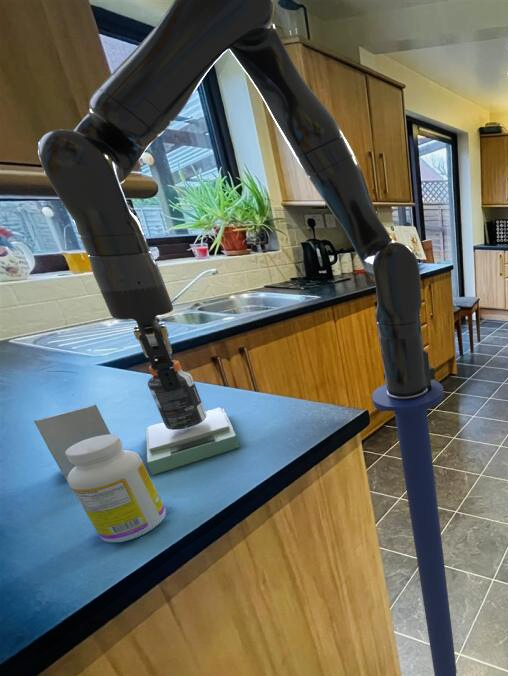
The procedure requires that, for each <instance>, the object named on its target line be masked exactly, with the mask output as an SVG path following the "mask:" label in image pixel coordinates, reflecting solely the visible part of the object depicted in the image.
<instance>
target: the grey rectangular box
mask: <svg viewBox="0 0 508 676" xmlns="http://www.w3.org/2000/svg"><path fill="white" fill-rule="evenodd" d="M33 422H34V424H35V427H36V428H37V430H38V432H39V434H40V436H41V438H42V439H43V442H44V444H45V445H46V447H47V450H49V452H50V454H51V456H52V458H53V460H54V462H55V463H56V465H57V467H58V468H59V470H60V472H61V474H62V475H63V477H64V479H65V481H66V482H68V480H67V477H68V474H69V473H70V471H71V470H72V469H73V468H74V467H75V465H74V464H72V463H71V462H69V460H68V458H67V456H66V454H65V452H66V450H67V449H68V448H69V447H71V446H73V445H74V444H76V443H78V442H81V441H83V440H86V439H89V438H92V437H96V436H101V435H112V433H111V432H110V430H109V428H108V426H107V423H106V422H105V420H104V418H103V416H102V414H101V412H100V409H99V408H98V406H97V404H94V405H89V406H86V407H85V406H84V407H82V408H77V409H75V410H70V411H65V412H63V413H59V414H54V415H50V416H47V417H44V418H40V419H36V420H33Z"/></svg>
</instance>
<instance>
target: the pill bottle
mask: <svg viewBox="0 0 508 676" xmlns="http://www.w3.org/2000/svg"><path fill="white" fill-rule="evenodd" d="M172 361H173V362H174V364H175V365H174V369H175V372H176V375H177V377H178V380H179V382H180V385H181V388H180V389H178V390H174V391H169V392H166V391H164V389H163V386H162V384H161V381H160V379H159V377H158V374H157V372H156V371H154V370H153V369H152V368H151V365H149V366H148V369H149V372H150V375H151V376H152V377H151V378H149V380H148V381H147V387H148V389H149V391H150V393H151V396H152V399H153V401H154V403H155V406H156V407H157V409H158V412H159V414H160V417H161V418H162V421H163V422H164V424H165V426H166V428H168V429H170V430H181V429H186V428H190V427H193V426H195V425H198V424H200V423H201V422H203V421H204V420H205V419H206V417H207V415H206V412H205V411H206V410H205V407H204V405H203V402H202V400H201V396H200V394H199V391H198V389H197V386H196V383H195V380H194V378H193V376H192V374H191V373H190V372H189V371H186V370H183V369H182V366H181V363H180V361H179V360H176V359H175V360H174V359H172Z"/></svg>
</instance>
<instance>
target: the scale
mask: <svg viewBox="0 0 508 676" xmlns="http://www.w3.org/2000/svg"><path fill="white" fill-rule="evenodd" d="M205 412H206V415H207V417H206V419H205V420H204V421H203V422H201V423H200V424H198V425H195V426H193V427H190V428H186V429H181V430H170V429H168V428H166V426H165V424H164V422H159V423H155V424H150V425H148V426H147V428H146V429H145V445H146V447H145V448H146V451H145V452H146V464H147V466H148V468H149V471H150V473H151V475H153V476H154V475H157V474H160V473H163V472H167V471H170V470H173V469H176V468H179V467H182V466H185V465H190V464H192V463H195V462H198V461H201V460H205V459H208V458H210V457H214V456H217V455H220V454H224V453H226V452H230V451H233V450H236V449H240V448H241V444H240V443H239V439H238V437H237V434H236V432H235V429H234V427H233V425H232V423H231V421H230V418H229V416H228V414H227V412H226V410H225V408H221V406H220V407H216V408H212V409H209V410H205Z"/></svg>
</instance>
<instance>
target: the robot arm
mask: <svg viewBox="0 0 508 676" xmlns="http://www.w3.org/2000/svg"><path fill="white" fill-rule="evenodd" d="M274 1H275V0H174V1H173V2H172V3H171V5H170V7H169V8H168V9H167V10H166V12H165V14H164V15H163V17H162V18H161V19H160V21H159V22H158V23H157V24H156V26H154V28H153V29H152V30H151V31H150V32H149V34H148V35H147V36H146V37H145V38H144V39H143V40H142V42H140V43H139V44H138V46H137V47H136V48H135V49H133V51H132V52H131V53H130V54H129V55H128V56H127V57H125V59H124V60H123V61H122V62H121V63H120V64H119V65H118V66H117V67H116V68H115V70H114V71H112V73H110V75H109V76H107V78H106V79H105V80H104V81H103V82H102V83H101V84H100V85H99V87H98V88H97V89H96V90H95V91H94V92H93V94H92V95H91V97H90V99H89V101H88V108H89V110H88V112H87V114H86V115H85V116H84V117H83V118H82V120H81V121H80V122H79V123H78V124H77V126H75V128H74V129H73V130H72V129H66V128H65V129H64V128H63V129H61V128H60V129H53V130H50V131H48V132H46V133H45V134H43V135H42V137H40V139H39V142H38V145H37V155H38V159H39V161H40V162H39V163H40V164H41V167H42V170H43V172H44V173H45V176H46V178H47V180H48V182H49V184H50V185H51V186H52V188H53V190H54V192H55V193H56V195H57V197H58V198H59V200H60V202H61V203H62V205H63V207H64V208H65V210H66V211H67V212H68V214H69V215H70V217H71V219H72V220H73V222H74V225H75V227H76V231H77V234H78V236H79V238H80V241H81V243H82V246H83V248H84V250H85V252H86V255H87V258H88V260H89V263H90V268H91V272H92V275H93V277H94V280H95V281H96V284H97V286H98V288H99V291H100V293H101V296H102V298H103V300H104V301H105V305H106V306H107V309H108V311H109V314H110V316H111V317H112V319H115V320H120V321H122V320H123V321H128V320H134V321H135V322H136V325H137V326H133V331H132V332H133V334H134V337H135V339H136V340H137V341H138V342H139V344H140V347H141V350H142V352H143V355H144V356H145V357H146V358H148V361H149V362H150V366H151V368H152V369H153V370H154V371H156V372H157V374H158V377H159V379H160V381H161V384H162V386H163V389H164V391H166V392H169V391H174V390H178V389H180V388H181V385H180V382H179V380H178V377H177V375H176V372H175V369H174V365H175V364H174V362H173V361H172V360H173V357H172V355H173V347H172V343H171V341H170V338H169V332H168V328H167V325H166V323H165V322H161V320H160V318H158V316H163V315H167V314H169V313H171V312H173V310H174V305H173V303H172V300H171V297H170V295H169V292H168V289H167V287H166V284H165V281H164V278H163V275H162V273H161V270H160V267H159V266H158V263H157V261H156V260H155V258H154V256H153V254H152V252H151V249H150V246H149V244H148V241H147V238H146V236H145V232H144V230H143V228H142V227H143V226H142V225H141V223H140V221H139V220H138V218H137V217H136V215H134V214H133V212H131V210H130V207H129V205H128V203H127V200H126V197H125V194H124V191H123V189H122V186H121V185H122V184H123V183H124V182H125V180H126V179H127V178H128V177H129V176H130V174H131V173H132V171H133V170H134V169H135V167H136V166H137V164H138V163H139V161H140V160H141V159H142V157H143V155H144V153H145V151H146V150H147V149H148V147H150V145H151V144H152V143H154V142H155V141H156V140H157V139H158V138H159V137H160V136H161V135H162V134H163V133H164V132H165V131H166V130H167V128H168V127H169V126H170V125H171V124H172V123H173V122H174V121H175V120H176V118H177V117H178V116H179V115H180V114H181V112H182V111H183V110H184V109H185V107H186V106H187V104H188V102H189V101H190V100H191V98H192V96H193V95H194V93H195V92H196V90H197V89H198V87H199V85H200V84H201V82H202V81H203V79H204V78H205V76H206V75H207V73H208V72H209V71H210V69H211V68H212V67H213V66H214V64H215V63H216V62H217V61H218V60H219V59H220V58H221V57H222V56H223V55H224V54H225V53H226V52H227V51H228V50H229V51H230V53H231V54H232V56H233V57H234V58H235V60H236V61H237V63H238V64H239V65H240V67H241V68H242V69H243V71H244V73H246V75H247V77H248V78H249V79H250V81H251V82H252V83H253V85H254V87H255V88H256V89H257V92H258V93H259V94H260V96H261V98H262V100H263V101H264V103H265V106H266V107H267V109H268V111H269V114H270V115H271V117H272V119H273V120H274V122H275V124H276V126H277V128H278V129H279V131H280V133H281V135H282V136H283V138H284V140H285V142H286V143H287V145H288V147H289V149H290V150H291V152H292V154H293V156H294V158H296V160H297V162H298V164H299V165H300V167H301V168H302V170H303V172H304V173H305V175H306V176H307V178H308V179H309V181H310V182H311V184H312V186H313V187H314V188H315V190H316V191H317V193H318V194H319V196H320V197H321V199H322V200H323V202H324V203H325V204H326V206H327V207H328V209H329V210H330V212H331V213H332V214H333V216H334V218H336V220H337V221H338V222H339V224H340V225H341V226H342V228H343V230H344V231H345V233H346V235H347V238H348V239H349V241H350V243H351V245H352V247H353V249H354V250H355V253H356V254H357V256H358V259H359V260H360V263H361V265H362V267H363V269H364V271H365V273H366V274H367V276H368V277H369V278H370V279H371V280H372V281H373V282H374V283H375V292H376V301H377V304H376V308H375V309H374V316H375V321H376V327H377V328H376V329H377V335H378V341H379V346H380V354H381V359H382V367H383V372H384V373H383V380H384V381H385V384H386V387H387V395H388V397H390V398H392V399H395V400H411V399H416V398H419V397H421V396H423V395H425V394H426V393H427V392H428V391H431V390H432V386H431V380H435V379H436V373H435V367H433V366H431V365H430V359H429V358H430V357H429V351H427V350H425V346H424V337H423V330H422V329H423V328H422V321H421V310H422V309H421V308H422V305H423V304H422V303H423V299H422V283H421V282H422V281H421V272H420V264H419V261H418V258H417V255H416V254H415V252H414V251H413V249H411V247H409V246H408V245H406V244H404V243H401V242H397V241H395V240H394V238H393V237H392V236H391V234H390V233H389V231H388V230H387V228H386V226H385V225H384V223H383V222H382V220H381V218H380V216H379V215H378V213H377V211H376V208H375V206H374V204H373V203H374V202H373V200H372V197H371V192H370V190H369V187H368V183H367V180H366V177H365V173H364V171H363V168H362V166H361V164H360V162H359V159H358V157H357V156H356V154H355V152H354V150H353V148H352V147H351V144H350V143H349V141H348V138H347V137H346V136H345V134H344V132H343V130H342V129H341V126H340V125H339V124H338V122H337V120H335V117H333V114H331V112H330V110H329V109H328V108H327V107H326V106H325V105H324V104H323V101H321V100H320V98H319V97H318V96H317V95H316V94H315V93H314V91H313V90H312V88H311V87H310V86H309V85H308V84H307V83H306V81H305V80H304V78H303V77H302V75H301V74H300V72H299V70H298V69H297V67H296V65H295V64H294V62H293V60H292V58H291V56H290V54H289V52H288V50H287V48H286V46H285V44H284V43H283V40H282V37H281V36H280V34H279V31H278V29H277V26H276V25H275V22H274V17H275V2H274Z"/></svg>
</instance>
